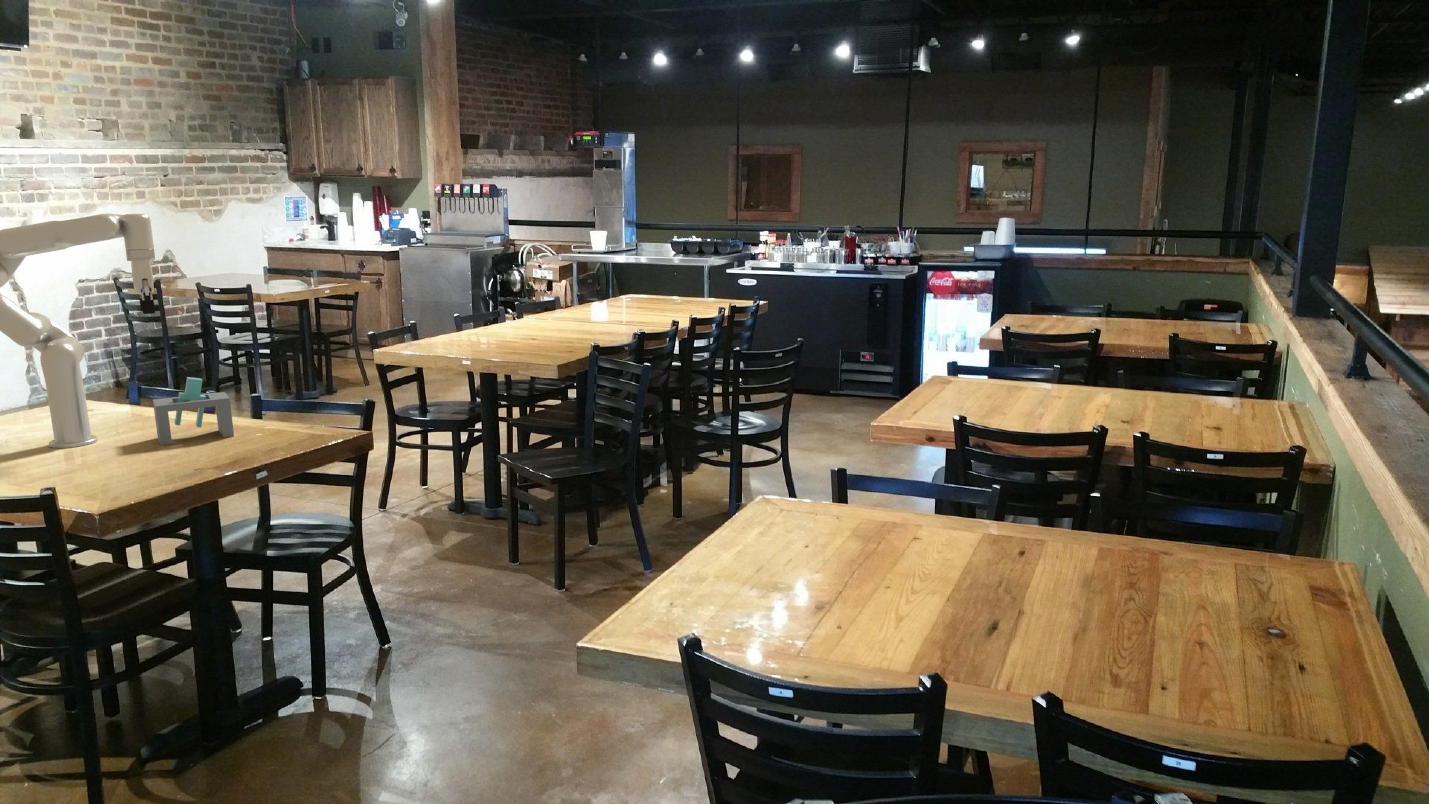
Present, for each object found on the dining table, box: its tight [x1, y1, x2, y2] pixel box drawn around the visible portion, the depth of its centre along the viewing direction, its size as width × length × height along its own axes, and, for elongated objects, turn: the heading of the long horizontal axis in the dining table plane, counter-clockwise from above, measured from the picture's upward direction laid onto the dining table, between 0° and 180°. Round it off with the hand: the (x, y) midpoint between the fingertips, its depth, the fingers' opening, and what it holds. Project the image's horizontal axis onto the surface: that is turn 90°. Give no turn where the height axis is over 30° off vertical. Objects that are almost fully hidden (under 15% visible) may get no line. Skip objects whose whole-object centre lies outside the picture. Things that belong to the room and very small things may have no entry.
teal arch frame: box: [174, 376, 206, 428], centre depth 313 cm, size 4×7×14 cm, turn 121°
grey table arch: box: [152, 391, 235, 446], centre depth 314 cm, size 12×20×12 cm, turn 122°
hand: (148, 312), depth 312 cm, fingers open, 9 cm apart
